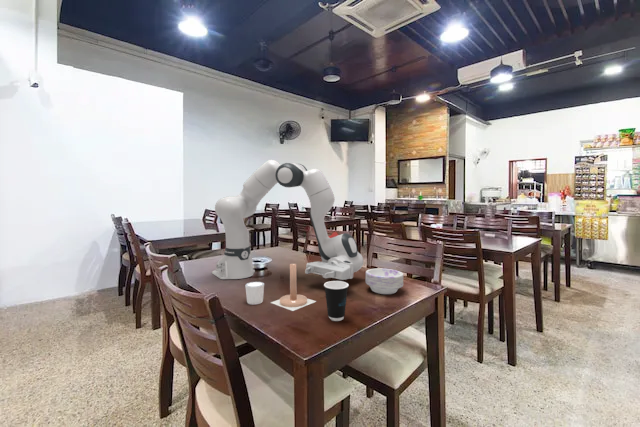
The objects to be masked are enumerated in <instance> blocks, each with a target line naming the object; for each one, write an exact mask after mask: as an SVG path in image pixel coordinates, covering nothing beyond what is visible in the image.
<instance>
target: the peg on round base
mask: <svg viewBox="0 0 640 427" xmlns="http://www.w3.org/2000/svg"><path fill="white" fill-rule="evenodd" d="M297 281H298V280H297V263H290V264H289V294H286V295H282V296H281V297H280V298H279V299H280V304H281V305H282V306H286V307H299V306H303V305H305V304H306V303H307V299H308V298H307V296H306V295H303V294H297V293H298V292H297V289H298V287H297V285H298V284H297Z"/></svg>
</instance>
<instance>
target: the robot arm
mask: <svg viewBox="0 0 640 427" xmlns="http://www.w3.org/2000/svg"><path fill="white" fill-rule="evenodd" d="M277 184H278V185H280V186H282V187H284V188H297V187H301V188H303V189H304V191H305V193H306V195H307V197H308V200H309V203H310V210H309V216H310V221H311V225H312V228H313V231H314V234H315V237H316V242H317V246H318V247H317V248H318V252H319V255H320V257H321V256H322V257H323V258H324V259H325V260H327V261H328V262H327V263H325V262H322V261H320V260H319V261H313V262H312V261H311V262H307V263H306V264H305V265H306V266H305V268H306V269H305V270H304V273H305V274H306V275H309V274H314V275H320V276H322V278H324V279H331V278H332V279H337V280H339V281H344V280H345V281H347V280H352V279H353V278H354V273H356V272H358V271H359V270H360V269H361V268H363V265H364V257H363V255H362V254H361V253H360V252H359V251H358V245H357V244H358V243H357V242H356V239H355V238H354V237H353V236H352V235H351V234H349V233H347V232H344V233H342V234H338V236H336V237H333V238H329V237H328V236H329V235H328V230H327V227H326V223H325V217H326V215H327V214H328V213H329V211H330V210H331V209H332V208H333V206H334V203H335V195H334V192H333V190H332V188H331V185H330V183H329V182H328V180H327V177H326V176H325V175H324V173H323V171H321V170H320V169H318V168H310V169H309V170H308V169H307V167H306V166H305V165H303V164H301V163H298V162H284V163H281V164H280V163H279V162H278V161H277V160H274V159H267V161H265V162H264V163H262V164H261V165H260V166H259V167H258V168H257V169H256V170H255V171H254V172H253V173H252V174H251V175H250V176H249V177H248V178H247V179H246V180H245V182H244V183H243V185H242V190H241V191H240V193H239V194H237V195H235V196H234V195H231V196H230V195H229V196H225V197H223V198H220V199H218V200H217V201H216V203H215V205H214V212H215V214H216V215H217V217H218V218H219V219H220V220H221V222H222V224H223V229H224V232H225V233H224V234H225V247H224V248H223V251H224V253H223V256H222V257H220V259H219V260H218V261H217V262H216V265H215V266H216V269H214V270H212V272H211V274H212V275H214V276H215V277H217V278H218V279H220V280H238V279H239V280H240V279H247V278H250V277H252V276H254V273H255V272H256V270H255V269H254V264H253V257H252V255H251V251H252V250H251V246H250V230H249V229H248V228H247V226H246V224H245V222H244V219H247V218H249V217H251V216H253V215H254V214H255V213H256V212H257V207H258V205H259V204H260V202H261V200H262V199H263V198H264V197H265V196H266V195H267V194H268V193H269V192H270V191H271V190H272V189H274V187H275V186H276V185H277Z"/></svg>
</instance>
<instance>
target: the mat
mask: <svg viewBox="0 0 640 427" xmlns="http://www.w3.org/2000/svg"><path fill="white" fill-rule="evenodd" d="M316 302H317V300H313V299H310V298H307V303H306V304H305V305H303V306H299V307H286V306H282V305H281V304H280V298H279V299H277V300H273V301H270V304H272V305H275V306H277V307H280V308H284V309H286V310H288V311H291V312H294V311H297V310H299V309H302V308H304V307H306V306H308V305H311V304H314V303H316Z"/></svg>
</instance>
